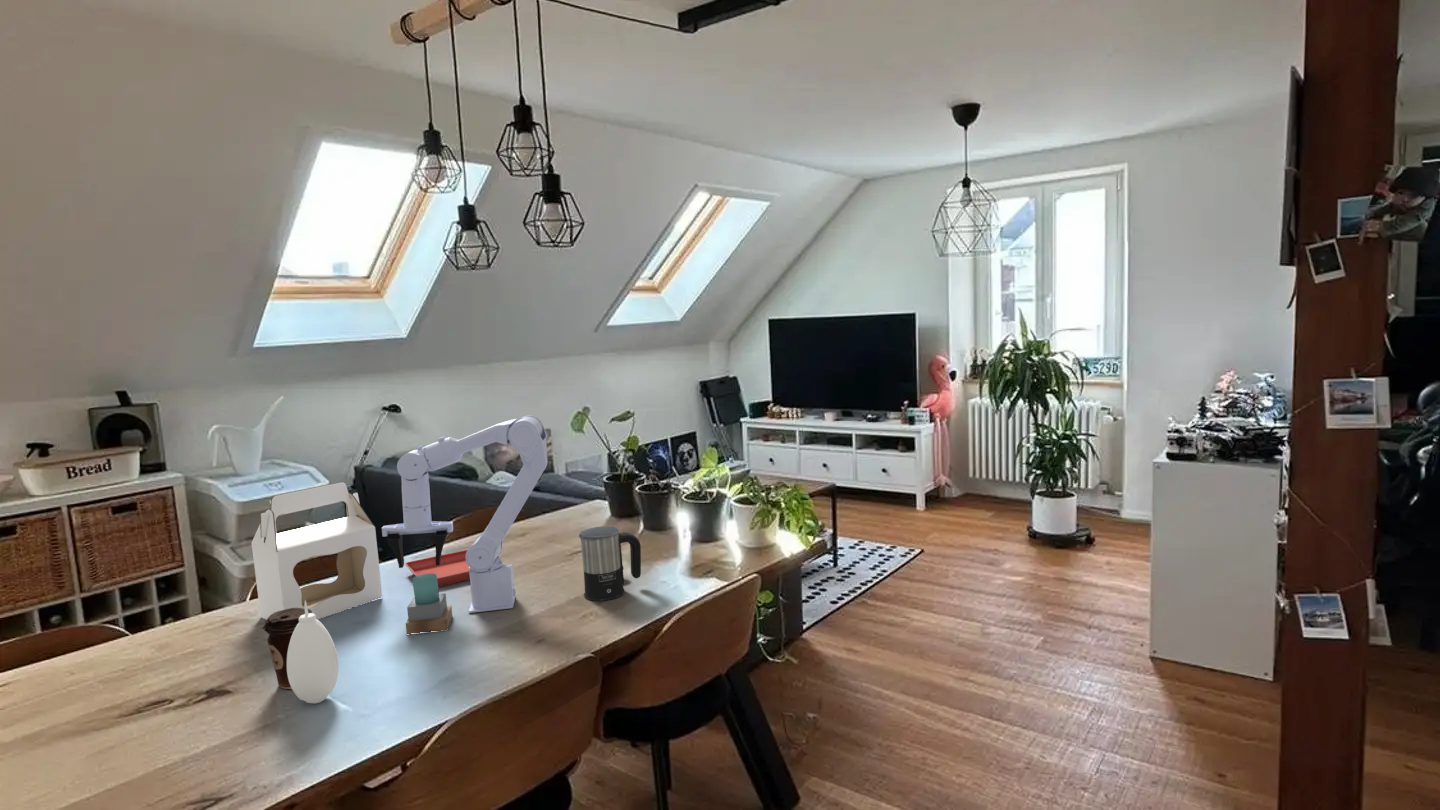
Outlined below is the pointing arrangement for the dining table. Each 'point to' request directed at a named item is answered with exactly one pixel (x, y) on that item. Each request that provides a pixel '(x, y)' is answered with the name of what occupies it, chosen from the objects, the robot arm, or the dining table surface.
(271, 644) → the coffee cup
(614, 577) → the milk frother
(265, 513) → the gable box
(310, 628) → the sauce bottle
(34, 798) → the dining table surface
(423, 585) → the teal cylinder
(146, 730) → the dining table surface
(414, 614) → the gray block
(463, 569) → the plant saucer
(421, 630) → the walnut slab
